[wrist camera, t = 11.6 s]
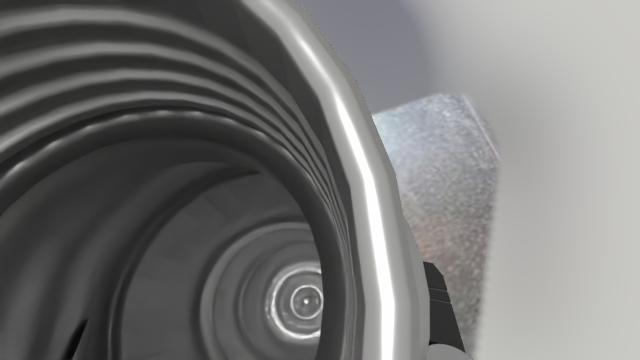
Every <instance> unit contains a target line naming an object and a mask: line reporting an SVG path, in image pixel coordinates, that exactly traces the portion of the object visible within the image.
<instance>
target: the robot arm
mask: <svg viewBox="0 0 640 360" xmlns="http://www.w3.org/2000/svg"><path fill="white" fill-rule="evenodd" d="M423 265H424V270H425V275H426V280H427V285H428V290H429V295H430V339H429V345H428V350H427V356H426V360H473V359H472V358H471V357H470V356H468V355H467V354H466V352H465V349H464V346H463V342H462V339H461V336H460V332H459V329H458V325H457V322H456V319H455V315H454V312H453V308H452V305H451V304H450V302H451V301H450V298H449V295H448V293H447V288H446V284H445V281H444V278H443V275H442V274H441V273H440V272H439V270H438V269H437V268H436V267H435V266H434V264H433V263H428V262H423ZM89 329H90V317H89V318H88V319H87V320H86V322H85V323H84V324H83V325H82V326H81V328H80V329H79V330H78V332H77V334H76V336H75V338H74V340H73V342H72V344H71V348H70V351H69V354H68V357H67V359H66V360H85V358H86V354H87V349H88V344H89Z"/></svg>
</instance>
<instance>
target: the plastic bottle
mask: <svg viewBox="0 0 640 360" xmlns="http://www.w3.org/2000/svg"><path fill="white" fill-rule="evenodd" d="M89 317H90V329H89V344H88V349H87V354H86V358H85V360H426V356H427V350H428V345H429V339H430V295H429V290H428V285H427V280H426V275H425V270H424V265H423V260H422V256H421V254H420V251H419V249H418V246H417V244H416V241H415V239H414V236H413V234H412V232H411V229H410V227H409V224H408V222H407V221H406V219H405V218H404V216H403V212H402V206H401V201H400V196H399V190H398V185H397V179H396V174H395V172H394V169H393V167H392V164H391V162H390V160H389V157H388V155H387V152H386V150H385V148H384V145H383V143H382V140H381V138H380V136H379V133H378V131H377V128H376V126H375V124H374V121H373V119H372V116H371V114H370V112H369V109H368V107H367V104H366V102H365V100H364V97H363V95H362V92H361V90H360V88H359V86H358V83H357V80H356V79H355V77H354V76H353V74H352V73H351V72H350V70H349V69H348V67H347V66H346V65H345V63H344V62H343V61H342V59H341V58H340V56H339V55H338V53H337V52H336V51H335V49H334V48H333V47H332V45H331V44H330V42H329V41H328V39H327V38H326V37H325V35H324V34H323V33H322V31H321V30H320V28H319V27H318V26H317V24H316V23H315V22H314V20H313V19H312V17H311V16H310V14H309V13H308V12H307V10H305V9H304V8H303V7H302V6H301V5H300V4H299V3H297V2H296V1H295V0H0V360H66V359H67V357H68V354H69V351H70V348H71V344H72V342H73V340H74V338H75V336H76V334H77V332H78V330H79V329H80V328H81V326H82V325H83V324H84V323H85V322H86V320H87V319H88V318H89Z"/></svg>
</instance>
